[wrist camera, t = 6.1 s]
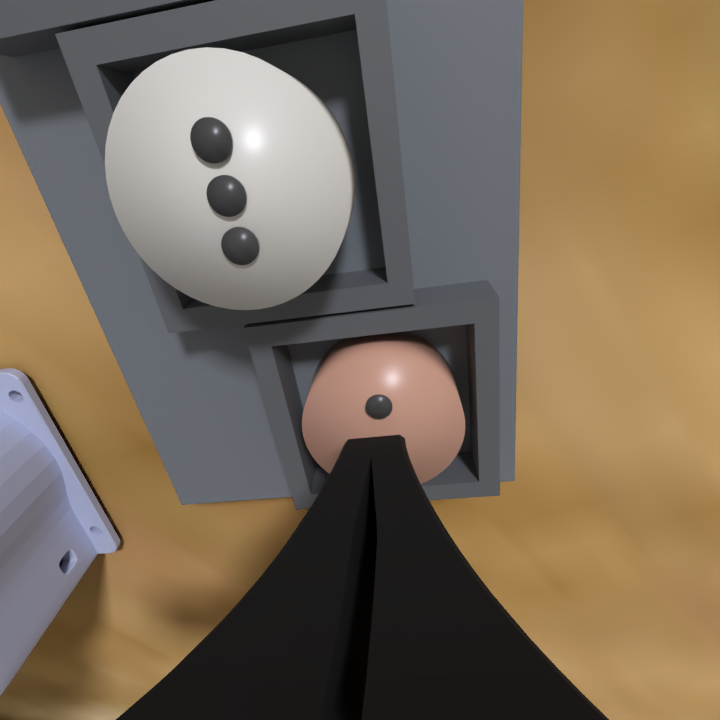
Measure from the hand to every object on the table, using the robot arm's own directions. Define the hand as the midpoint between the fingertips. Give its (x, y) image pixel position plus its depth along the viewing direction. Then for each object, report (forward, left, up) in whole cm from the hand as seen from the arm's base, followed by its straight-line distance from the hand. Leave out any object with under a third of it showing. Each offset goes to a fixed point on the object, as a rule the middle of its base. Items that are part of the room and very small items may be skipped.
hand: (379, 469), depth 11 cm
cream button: (+7, +2, -2) cm, 7 cm away
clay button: (0, 0, -3) cm, 3 cm away
